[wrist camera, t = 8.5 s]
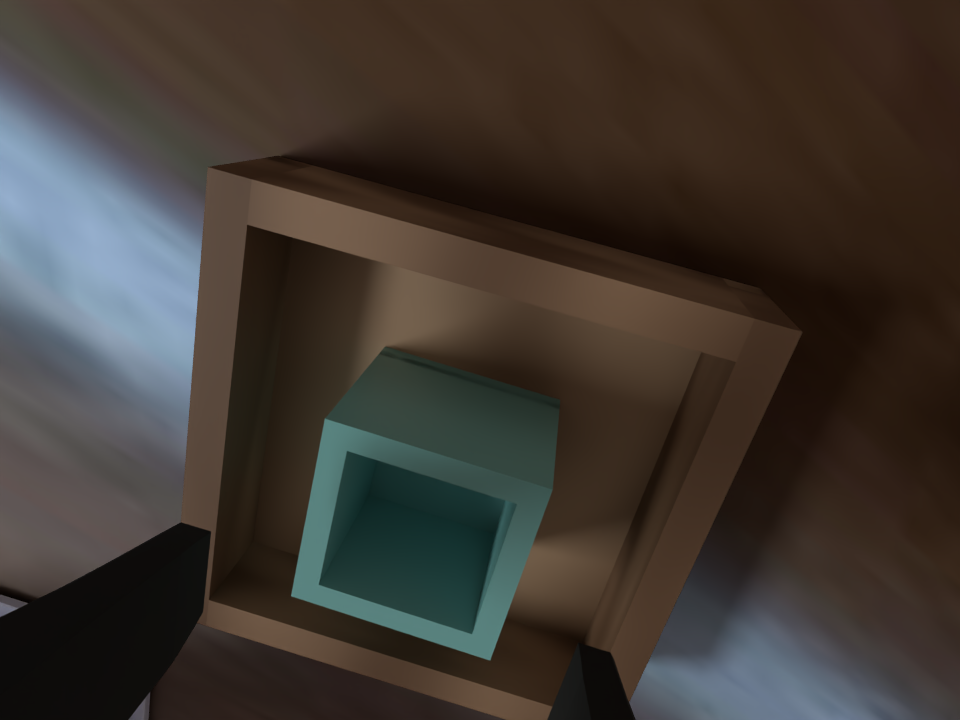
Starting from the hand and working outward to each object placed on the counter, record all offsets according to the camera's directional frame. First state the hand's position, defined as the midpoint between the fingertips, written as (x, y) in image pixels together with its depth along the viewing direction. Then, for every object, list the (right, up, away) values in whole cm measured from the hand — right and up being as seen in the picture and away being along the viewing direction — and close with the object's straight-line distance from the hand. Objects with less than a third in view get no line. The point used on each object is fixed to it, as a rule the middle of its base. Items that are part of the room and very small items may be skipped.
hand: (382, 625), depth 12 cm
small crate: (+1, +2, +7) cm, 7 cm away
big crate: (+1, +3, +7) cm, 8 cm away
